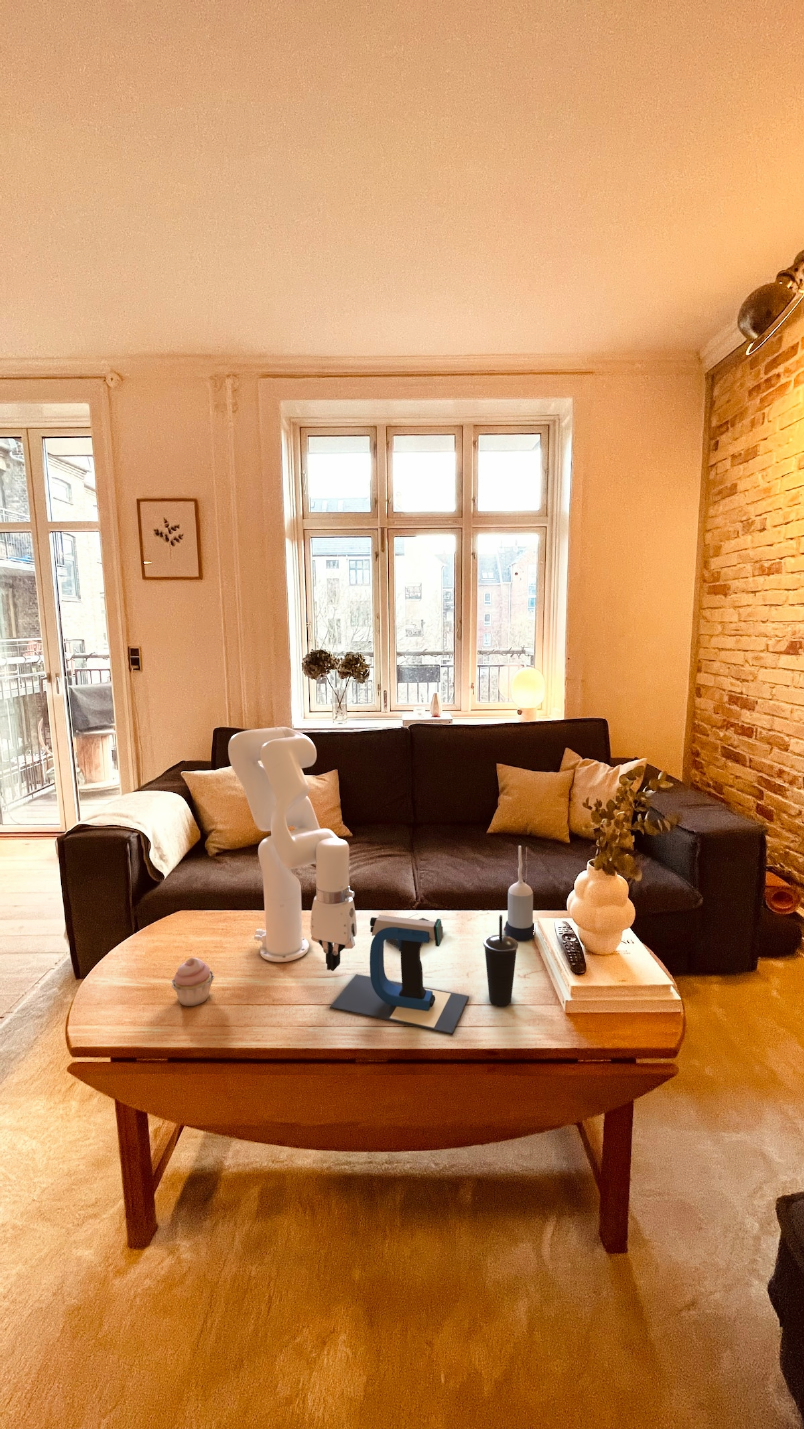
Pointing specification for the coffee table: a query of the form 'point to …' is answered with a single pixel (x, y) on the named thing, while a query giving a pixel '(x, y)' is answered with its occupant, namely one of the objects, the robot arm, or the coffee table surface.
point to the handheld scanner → (403, 959)
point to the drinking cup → (500, 966)
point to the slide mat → (368, 1003)
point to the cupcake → (193, 982)
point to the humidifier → (520, 909)
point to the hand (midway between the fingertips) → (333, 967)
